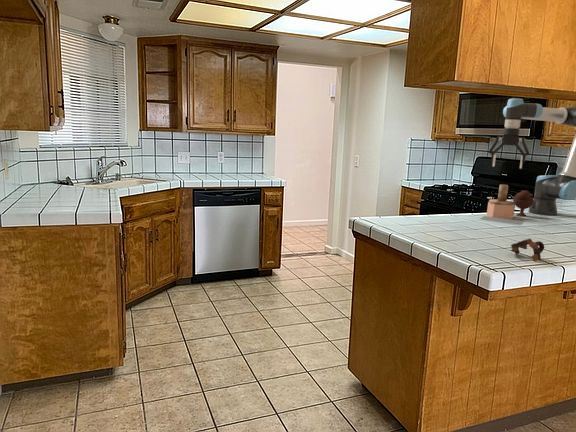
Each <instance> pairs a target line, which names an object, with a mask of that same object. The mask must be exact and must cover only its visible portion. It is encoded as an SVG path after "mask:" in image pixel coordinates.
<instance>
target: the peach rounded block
mask: <svg viewBox="0 0 576 432" xmlns="http://www.w3.org/2000/svg"><path fill="white" fill-rule="evenodd" d="M508 192H509V185H508V184H499V188H498V195H497V199H496V198H495V199H494V198H493V199H492V198H491V199H488V202H489V203H493V204H500V205H515V202H513V200H509V199H508V200H507V197H508ZM515 206H516V205H515Z"/></svg>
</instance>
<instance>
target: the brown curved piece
mask: <svg viewBox="0 0 576 432" xmlns="http://www.w3.org/2000/svg"><path fill="white" fill-rule="evenodd" d="M528 245H529V247H530V248H531V249H533V250H532V251H533V255H531V258H532V261H533V262H537V261H539V260H542V258H541V254H542V253H543V252H544V249H545V245H544V243H543V241H539V240H537V241H533V240H532V239H531V238H527V239H524V240H521V241H518V242H515V243H512V244H511V245H510V247H511V250H510V251H511V252H514V254H515V255H519V254H520V253H521V252H520V249H523V250H527V249H528V247H527V246H528Z"/></svg>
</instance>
